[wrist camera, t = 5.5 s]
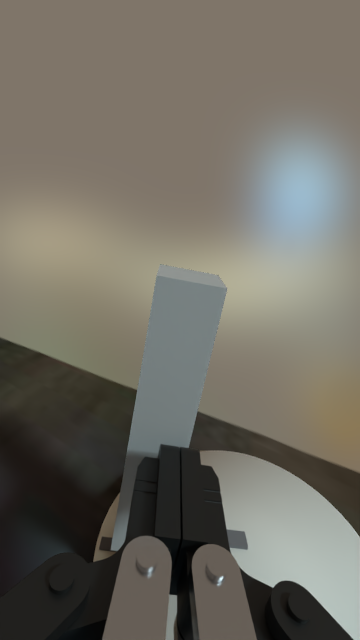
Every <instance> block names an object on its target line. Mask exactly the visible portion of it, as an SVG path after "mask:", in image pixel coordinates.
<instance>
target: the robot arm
mask: <svg viewBox="0 0 360 640" xmlns="http://www.w3.org/2000/svg"><path fill="white" fill-rule="evenodd" d="M169 594H170V595H177V613H176V617H175V620H174V629H173V631H174V640H353V638H352V637H351V636H350V635H349V634H348V633H347V632H346V631H345V630H344V629H343V628H342V627H341V626H340V624H339V623H338V622H337V621H336V620H335V619H334V618H333V617H332V616H331V615H330V614H329V613H328V611H327V610H326V609H325V608H324V607H323V606H322V605H321V604H320V603H319V602H318V601H317V600H316V599H315V597H314V596H313V595H312V594H311V593H310V592H309V591H308V590H307V589H305V588H304V587H303V586H301V585H300V584H298V583H295V582H293V581H287V580H285V581H281V582H278V583H277V584H276V585H275V586H274V588H273V587H271V586H269V585H267V584H265V583H262V582H260V581H258V580H256V579H254V578H253V577H251V576H249V575H248V574H247V573H245V572H244V571H243V570H242V569H241V568H240V567H239V565H238V563H237V561H236V560H235V558H234V557H233V555H232V554H231V551H230V547H229V542H228V535H227V529H226V523H225V516H224V510H223V505H222V497H221V494H220V484H219V478H218V476H217V475H216V473H215V471H214V470H213V468H212V466H207V465H201V459H200V451H199V449H192V448H185V447H180V448H179V447H178V446H171V445H165V444H160V448H159V452H158V457H157V458H151V457H144V458H143V460H142V461H141V463H140V464H139V465H138V467H137V473H136V478H135V483H134V489H133V494H132V500H131V506H130V513H129V519H128V525H127V531H126V538H125V542H124V543H123V545H122V547H121V548H120V549H119V550H118V551H117V552H116V553H115V554H113V555H112V556H110V557H108V558H106V559H103V560H99V561H95V562H91V563H87V562H86V561H85V560H84V559H83V558H82V557H81V556H79V555H77V554H75V553H60V554H57V555H55V556H53V557H51V558H49V559H48V560H47V561H45V562H44V563H43V564H42V565H40V566H39V567H38V568H37V569H35V570H34V571H33V572H32V573H30V574H29V575H28V576H27V577H25V578H24V579H23V580H22V581H20V582H19V583H18V584H17V585H16V586H14V587H13V588H12V589H11V590H9V591H8V592H7V593H6V594H4V595H3V596H2V597H1V598H0V640H165V639H166V627H167V615H168V604H169Z"/></svg>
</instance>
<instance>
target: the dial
mask: <svg viewBox="0 0 360 640" xmlns="http://www.w3.org/2000/svg"><path fill="white" fill-rule="evenodd" d="M226 292H227V287H226V286H225V284H224V283H223V281H222V280H221V279H220V277H219V276H218V275H214V274H209V273H204V272H198V271H193V270H188V269H183V268H177V267H172V266H167V265H162V264H160V267H159V270H158V273H157V277H156V283H155V289H154V295H153V301H152V307H151V313H150V318H149V325H148V330H147V336H146V342H145V349H144V354H143V360H142V366H141V372H140V378H139V384H138V390H137V396H136V402H135V408H134V414H133V420H132V426H131V432H130V438H129V443H128V449H127V455H126V461H125V467H124V473H123V479H122V485H121V491H120V497H119V503H118V509H117V515H116V521H115V527H114V533H113V539H112V545H111V550H113V551H118V550H119V549H120V548H121V547H122V545H123V543H124V542H125V538H126V531H127V525H128V519H129V513H130V506H131V500H132V494H133V489H134V483H135V478H136V473H137V467H138V465H139V464H140V463H141V461H142V460H143V458H144V457H151V458H157V457H158V452H159V448H160V444H165V445H171V446H178V447H179V448H180V447H185V448H188V447H189V443H190V439H191V435H192V431H193V427H194V423H195V419H196V415H197V411H198V406H199V402H200V398H201V394H202V390H203V386H204V382H205V378H206V374H207V370H208V366H209V362H210V357H211V353H212V349H213V345H214V341H215V337H216V333H217V329H218V325H219V321H220V317H221V312H222V308H223V304H224V300H225V296H226ZM200 459H201V465H207V466H212V468H213V470H214V471H215V473H216V475H217V476H218V478H219V484H220V494H221V497H222V505H223V510H224V516H225V523H226V529H227V535H228V542H229V547H230V551H231V554H232V555H233V557H234V558H235V560H236V561H237V563H238V565H239V567H240V568H241V569H242V570H243V571H244V572H245V573H247V574H248V575H249V576H251V577H253V578H254V579H256V580H258V581H260V582H262V583H265V584H267V585H269V586H271V587H273V588H274V586H275V585H276V584H277V583H278V582H281V581H285V580H287V581H293V582H295V583H298V584H300V585H301V586H303V587H304V588H305V589H307V590H308V591H309V592H310V593H311V594H312V595H313V596H314V597H315V599H316V600H317V601H318V602H319V603H320V604H321V605H322V606H323V607H324V608H325V609H326V610H327V611H328V613H329V614H330V615H331V616H332V617H333V618H334V619H335V620H336V621H337V622H338V623H339V624H340V626H341V627H342V628H343V629H344V630H345V631H346V632H347V633H348V634H349V635H350V636H351V637H352V638H353V640H360V537H359V536H358V534H357V533H356V532H355V530H354V529H353V528H352V526H351V525H350V524H349V523H348V522H347V521H346V519H345V518H344V517H343V516H342V515H341V514H340V513H339V512H338V511H337V510H336V509H335V508H334V507H333V506H332V505H331V504H330V503H329V502H328V501H327V500H326V499H325V498H324V497H323V496H322V495H320V494H319V493H318V492H317V491H316V490H314V489H313V488H312V487H310V486H309V485H308V484H306V483H305V482H304V481H302V480H301V479H299V478H298V477H296V476H295V475H293V474H291V473H289V472H288V471H286V470H284V469H282V468H281V467H278V466H276V465H274V464H272V463H270V462H267V461H265V460H262V459H259V458H257V457H253V456H250V455H246V454H242V453H237V452H230V451H202V452H200ZM176 613H177V595H170V594H169V604H168V615H167V627H166V639H165V640H174V631H173V629H174V620H175V617H176Z"/></svg>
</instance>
